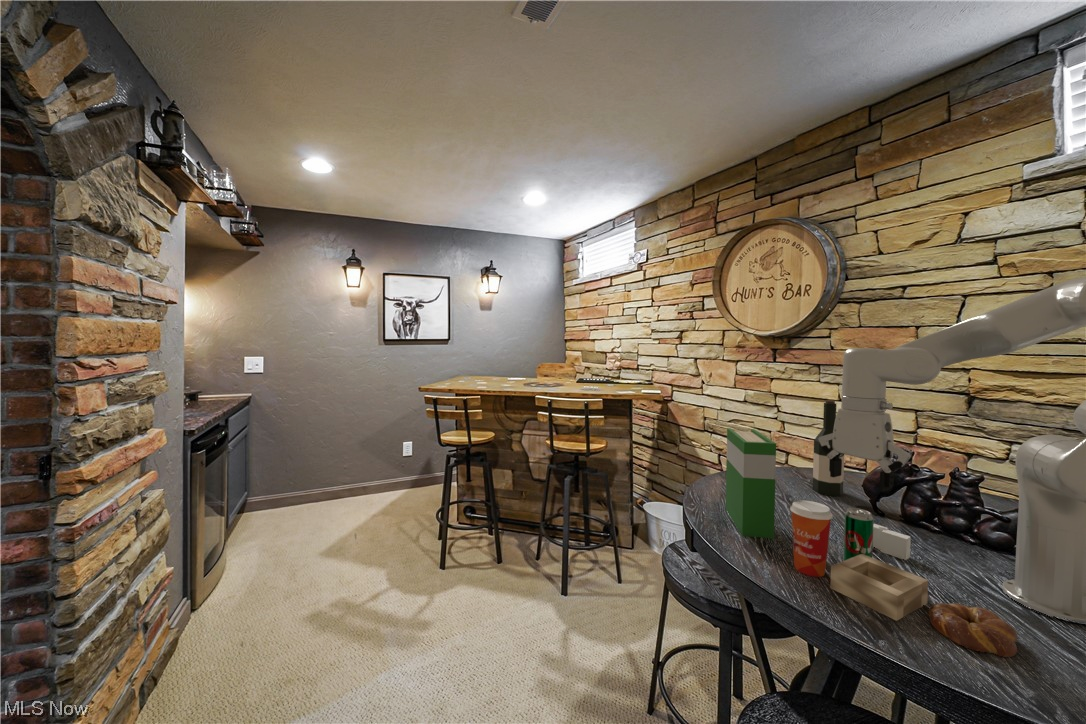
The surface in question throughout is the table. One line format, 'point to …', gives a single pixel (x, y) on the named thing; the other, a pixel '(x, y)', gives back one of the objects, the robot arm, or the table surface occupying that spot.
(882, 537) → the white stepped block
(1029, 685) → the table surface
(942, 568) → the table surface
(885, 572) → the holder
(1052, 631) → the table surface
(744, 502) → the hardback book
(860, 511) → the soda can
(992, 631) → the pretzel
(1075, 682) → the table surface
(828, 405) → the wine bottle
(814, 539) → the paper cup
